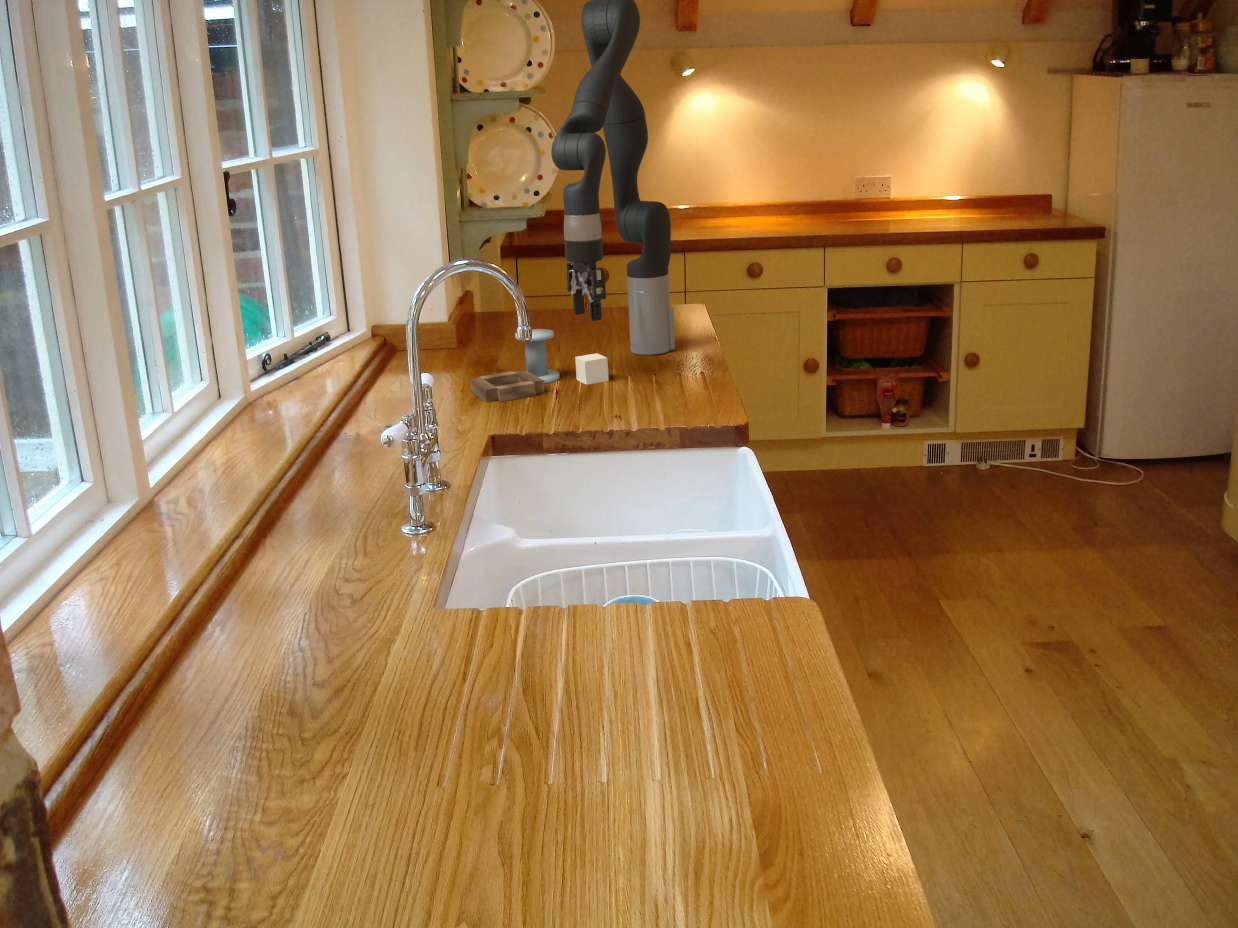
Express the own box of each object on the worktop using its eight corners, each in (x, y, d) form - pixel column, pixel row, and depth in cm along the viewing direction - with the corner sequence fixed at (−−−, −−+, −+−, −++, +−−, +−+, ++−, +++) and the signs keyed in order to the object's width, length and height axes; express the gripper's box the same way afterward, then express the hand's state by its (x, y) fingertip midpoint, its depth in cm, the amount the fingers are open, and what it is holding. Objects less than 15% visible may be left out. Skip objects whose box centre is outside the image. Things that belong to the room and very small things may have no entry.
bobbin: (549, 371, 261) (546, 326, 257) (566, 380, 253) (562, 333, 250) (510, 378, 257) (506, 332, 254) (525, 386, 249) (521, 340, 246)
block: (598, 376, 255) (597, 353, 253) (608, 381, 250) (607, 357, 249) (576, 380, 253) (575, 356, 251) (586, 385, 248) (584, 361, 247)
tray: (525, 381, 254) (524, 369, 253) (546, 393, 243) (545, 381, 242) (468, 390, 249) (467, 378, 248) (488, 403, 239) (487, 391, 238)
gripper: (615, 238, 238) (618, 320, 242) (586, 231, 250) (590, 309, 255) (579, 242, 235) (584, 325, 240) (552, 235, 247) (557, 314, 252)
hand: (587, 317), depth 247 cm, fingers open, 8 cm apart
